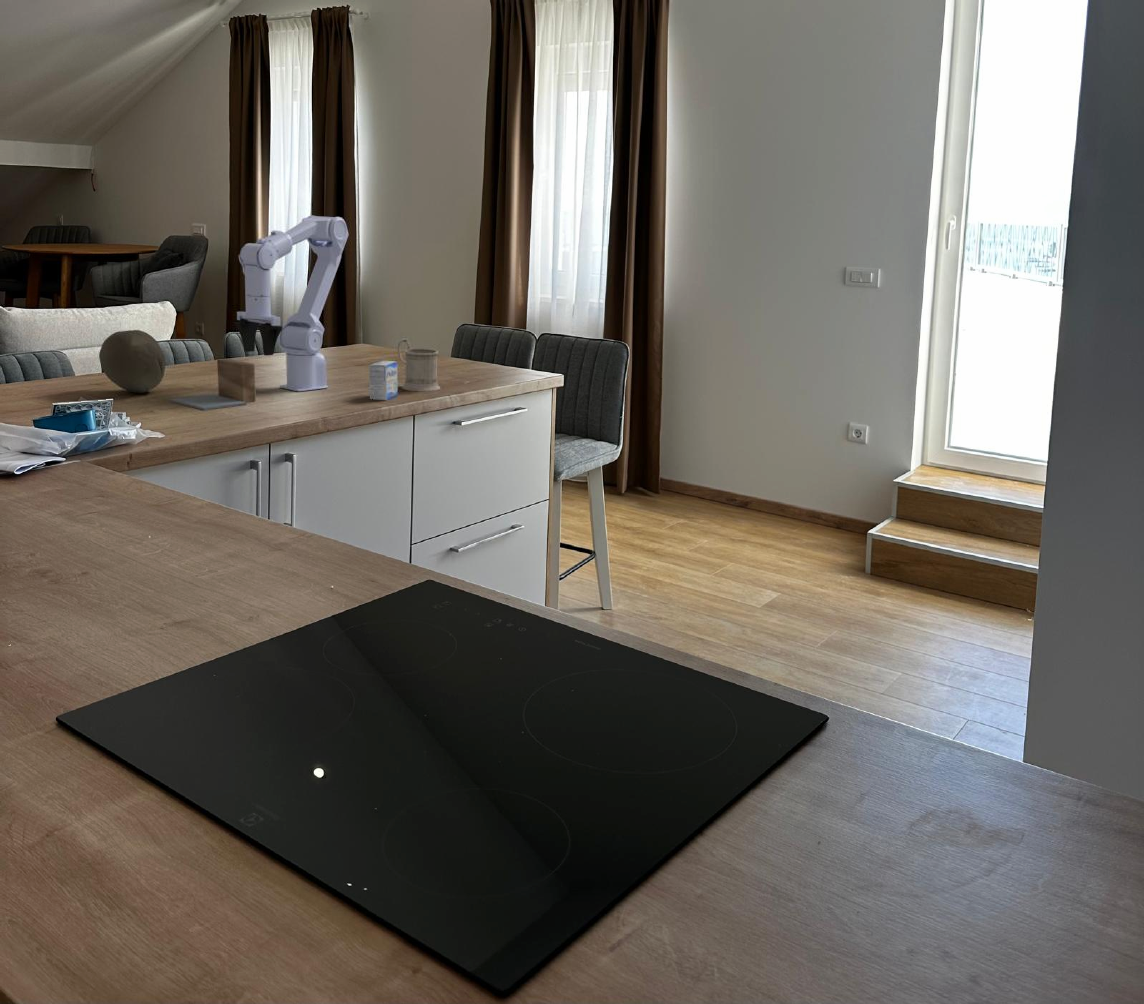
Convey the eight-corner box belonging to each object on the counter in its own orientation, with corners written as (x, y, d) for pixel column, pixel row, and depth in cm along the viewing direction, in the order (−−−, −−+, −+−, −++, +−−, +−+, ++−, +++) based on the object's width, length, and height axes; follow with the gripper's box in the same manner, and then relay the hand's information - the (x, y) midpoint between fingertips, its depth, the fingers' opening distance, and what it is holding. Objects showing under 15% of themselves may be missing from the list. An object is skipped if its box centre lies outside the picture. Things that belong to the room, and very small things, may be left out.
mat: (211, 395, 266) (211, 393, 265) (246, 404, 257) (246, 402, 257) (170, 401, 257) (170, 398, 257) (204, 410, 249) (204, 408, 249)
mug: (447, 389, 289) (448, 342, 286) (418, 392, 282) (418, 345, 279) (412, 381, 298) (413, 336, 295) (383, 384, 291) (383, 338, 288)
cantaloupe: (150, 386, 275) (147, 325, 271) (176, 394, 265) (173, 331, 261) (93, 391, 265) (88, 328, 261) (118, 400, 256) (113, 335, 252)
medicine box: (386, 401, 269) (386, 365, 267) (369, 399, 270) (368, 364, 268) (397, 395, 276) (397, 361, 274) (380, 394, 277) (380, 359, 275)
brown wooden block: (231, 395, 267) (230, 358, 265) (256, 401, 261) (254, 363, 259) (218, 397, 265) (217, 359, 262) (243, 403, 259) (242, 365, 256)
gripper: (225, 293, 263) (226, 350, 266) (262, 298, 254) (263, 357, 258) (250, 292, 268) (252, 349, 272) (287, 298, 260) (288, 356, 263)
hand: (259, 353), depth 265 cm, fingers open, 7 cm apart
